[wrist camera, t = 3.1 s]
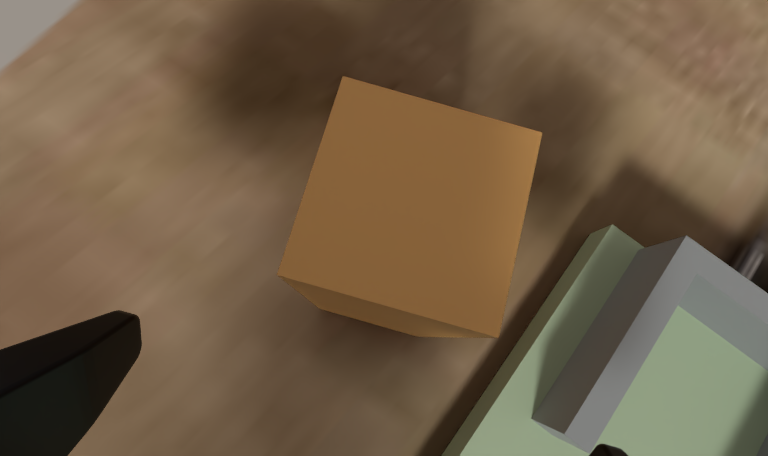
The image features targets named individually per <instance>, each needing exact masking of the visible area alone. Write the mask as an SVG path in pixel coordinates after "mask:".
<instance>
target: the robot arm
mask: <svg viewBox="0 0 768 456" xmlns="http://www.w3.org/2000/svg"><path fill="white" fill-rule="evenodd" d="M141 346H142V341H141V328H140V319H139V317H138V316H137V315H135V314H131V313H128V312H124V311H120V310H117V311H113V312H110V313H107V314H104V315H101V316H98V317H95V318H92V319H89V320H86V321H83V322H80V323H77V324H75V325H72V326H69V327H66V328H63V329H60V330H57V331H54V332H51V333H48V334H45V335H42V336H39V337H36V338H33V339H30V340H27V341H24V342H21V343H19V344H16V345H13V346H10V347H7V348H4V349H1V350H0V456H68V454H69V453H70V452H71V451H72V450H73V448H74V447H75V446H76V445H77V444H78V442H79V441H80V440H81V439H82V437H83V436H84V435H85V434H86V433H87V431H88V430H89V429H90V428H91V426H92V425H93V424H94V422H95V421H96V420H97V418H98V417H99V415H100V414H101V412H102V411H103V409H104V408H105V406H106V405H107V403H108V402H109V400H110V399H111V397H112V396H113V394H114V393H115V391H116V390H117V388H118V387H119V385H120V384H121V382H122V381H123V379H124V378H125V376H126V375H127V373H128V372H129V370H130V369H131V367H132V366H133V364H134V363H135V361H136V360H137V358H138V356H139V354H140V351H141ZM589 456H628V455H627V454H626V453H625V452H624V451H623V450H622V449H620V448H617V447H614V446H610V445H607V444H599V445H597V446H596V447H595V448H594V450H593V451H592V452H591V453H590V455H589Z"/></svg>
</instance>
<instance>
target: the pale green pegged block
mask: <svg viewBox="0 0 768 456" xmlns="http://www.w3.org/2000/svg"><path fill="white" fill-rule="evenodd" d="M599 444H607V445H610V446H614V447H617V448H620V449H622V450H623V451H624V452H625V453H626V454H627V455H628V456H768V293H766V292H765V291H764V290H762V289H761V288H759V287H758V286H757V285H755V284H754V283H752V282H751V281H750V280H748V279H747V278H745V277H744V276H743V275H741V274H740V273H738V272H737V271H736V270H734V269H733V268H731V267H730V266H729V265H727V264H726V263H724V262H723V261H722V260H720V259H719V258H717V257H716V256H715V255H713V254H712V253H710V252H709V251H708V250H706V249H705V248H703V247H702V246H701V245H699V244H698V243H696V242H695V241H694V240H692V239H691V238H689V237H688V236H687V235H686V236H683V237H679V238H676V239H673V240H669V241H666V242H663V243H660V244H656V245H653V246H650V247H646V248H645V247H643V246H642V245H640V244H639V243H638V242H636V241H635V240H634V239H632V238H631V237H629V236H628V235H627V234H625V233H624V232H623V231H621V230H620V229H618V228H617V227H616V226H614V225H613V224H612V225H609V226H607V227H605V228H603V229H600V230H598V231H596V232H593V233H591V234H590V235H589V236H588V238H587V239H586V241H585V242H584V244H583V245H582V247H581V248H580V250H579V251H578V253H577V254H576V256H575V257H574V259H573V260H572V262H571V263H570V265H569V266H568V267H567V269H566V270H565V272H564V273H563V275H562V276H561V278H560V279H559V281H558V282H557V284H556V285H555V287H554V288H553V290H552V291H551V293H550V294H549V296H548V297H547V299H546V300H545V302H544V303H543V305H542V306H541V308H540V309H539V311H538V312H537V314H536V315H535V317H534V318H533V320H532V321H531V323H530V324H529V326H528V327H527V329H526V330H525V332H524V333H523V335H522V336H521V338H520V339H519V341H518V342H517V344H516V345H515V347H514V348H513V350H512V351H511V353H510V354H509V356H508V357H507V358H506V360H505V361H504V363H503V364H502V366H501V367H500V369H499V370H498V372H497V373H496V375H495V376H494V378H493V379H492V381H491V382H490V384H489V385H488V387H487V388H486V390H485V391H484V393H483V394H482V396H481V397H480V399H479V400H478V402H477V403H476V405H475V406H474V408H473V409H472V411H471V412H470V414H469V415H468V417H467V418H466V420H465V421H464V423H463V424H462V426H461V427H460V429H459V430H458V432H457V433H456V435H455V436H454V438H453V439H452V441H451V442H450V444H449V445H448V446H447V448H446V449H445V451H444V452H443V454H442V455H441V456H589V455H590V453H591V452H592V451H593V450H594V448H595V447H596V446H597V445H599Z"/></svg>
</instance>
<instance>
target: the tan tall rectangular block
mask: <svg viewBox="0 0 768 456" xmlns="http://www.w3.org/2000/svg"><path fill="white" fill-rule="evenodd" d="M541 137H542V132H539V131H535V130H532V129H528V128H525V127H521V126H518V125H514V124H510V123H507V122H503V121H500V120H496V119H493V118H489V117H486V116H482V115H479V114H475V113H472V112H468V111H465V110H461V109H458V108H454V107H451V106H447V105H444V104H440V103H437V102H433V101H429V100H426V99H422V98H419V97H415V96H412V95H408V94H405V93H401V92H398V91H394V90H391V89H387V88H384V87H380V86H377V85H373V84H370V83H366V82H363V81H359V80H356V79H352V78H349V77H345V76H343V77H342V80H341V83H340V86H339V89H338V92H337V95H336V98H335V101H334V104H333V107H332V110H331V113H330V116H329V119H328V122H327V125H326V128H325V131H324V134H323V137H322V140H321V143H320V146H319V149H318V152H317V155H316V158H315V161H314V164H313V167H312V170H311V173H310V176H309V179H308V182H307V185H306V188H305V191H304V194H303V197H302V200H301V203H300V206H299V209H298V213H297V216H296V219H295V222H294V225H293V228H292V231H291V234H290V237H289V240H288V243H287V246H286V249H285V252H284V255H283V258H282V261H281V264H280V267H279V270H278V273H277V275H278V276H279V277H280V278H281V279H283V280H284V281H285V282H286V283H288V284H289V285H290V286H292V287H293V288H294V289H295V290H297V291H298V292H299V293H300V294H302V295H303V296H304V297H305V298H307V299H308V300H309V301H310V302H312V303H313V304H314V305H315V306H317V307H318V308H319V309H322V310H325V311H329V312H332V313H336V314H339V315H343V316H346V317H350V318H353V319H357V320H360V321H364V322H367V323H371V324H374V325H378V326H381V327H385V328H388V329H392V330H395V331H399V332H403V333H406V334H410V335H413V336H417V337H466V338H499V334H500V329H501V325H502V320H503V315H504V311H505V306H506V301H507V297H508V292H509V287H510V283H511V278H512V273H513V268H514V264H515V259H516V254H517V250H518V245H519V240H520V236H521V231H522V226H523V222H524V217H525V212H526V208H527V203H528V198H529V193H530V189H531V184H532V179H533V175H534V170H535V165H536V161H537V156H538V151H539V147H540V142H541Z"/></svg>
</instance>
